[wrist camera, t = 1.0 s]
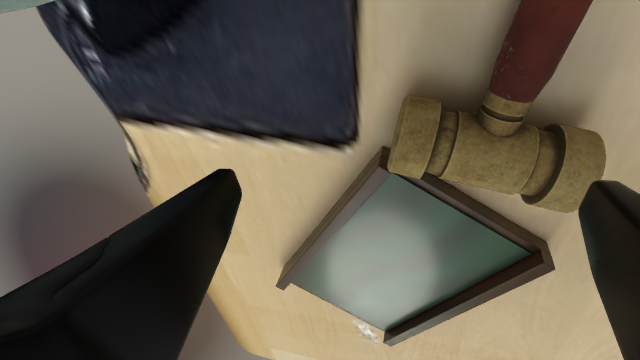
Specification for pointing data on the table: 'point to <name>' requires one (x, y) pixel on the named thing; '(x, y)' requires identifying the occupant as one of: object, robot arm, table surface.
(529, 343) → the table surface
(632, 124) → the table surface
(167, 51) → the table surface
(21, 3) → the lunch box
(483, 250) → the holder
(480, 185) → the gavel
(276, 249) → the table surface
